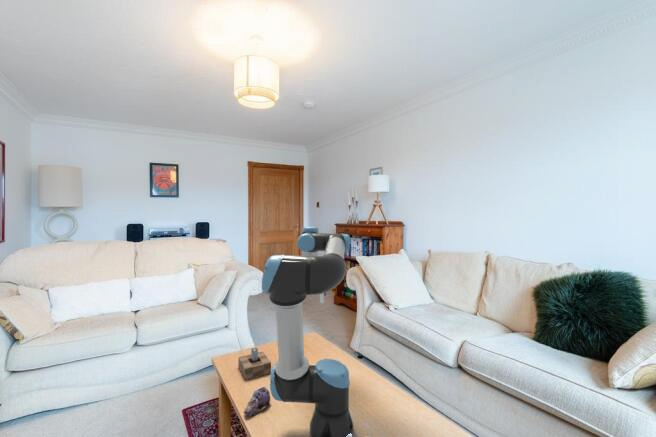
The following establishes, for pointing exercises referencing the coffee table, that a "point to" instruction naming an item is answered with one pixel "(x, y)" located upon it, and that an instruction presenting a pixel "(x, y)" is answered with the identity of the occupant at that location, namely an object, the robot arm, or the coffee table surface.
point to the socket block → (254, 366)
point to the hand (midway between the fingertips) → (309, 305)
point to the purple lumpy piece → (258, 401)
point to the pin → (254, 355)
